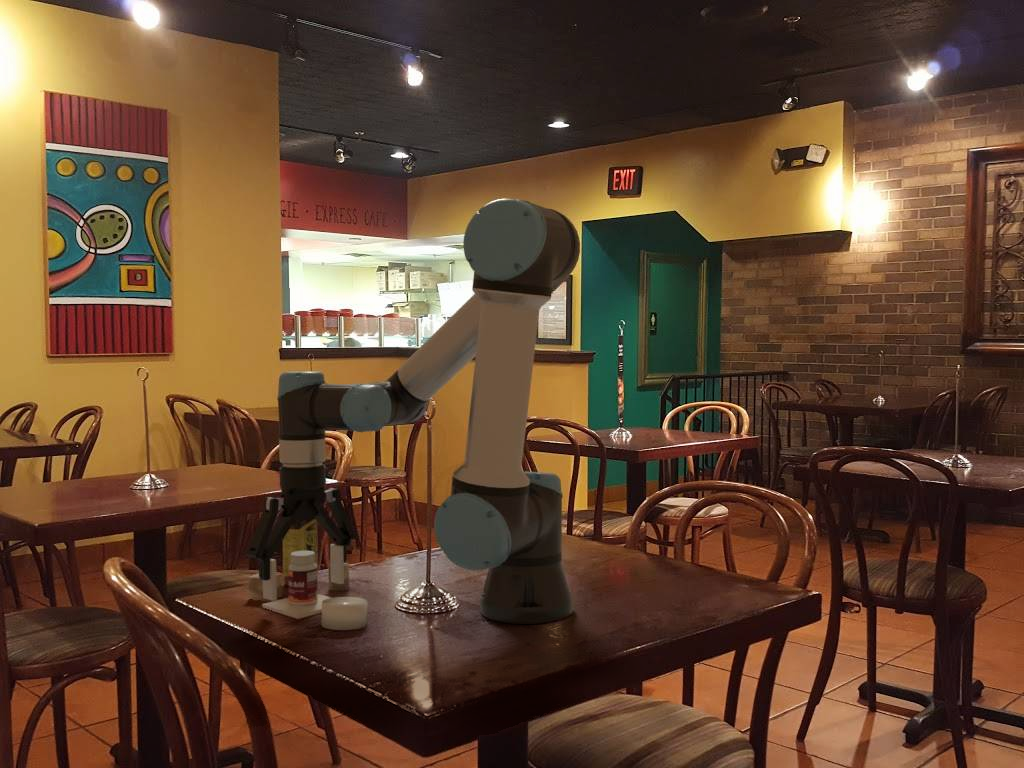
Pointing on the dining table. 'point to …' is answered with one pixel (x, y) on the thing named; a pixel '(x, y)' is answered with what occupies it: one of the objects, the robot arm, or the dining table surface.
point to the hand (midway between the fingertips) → (304, 590)
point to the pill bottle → (302, 578)
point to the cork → (340, 587)
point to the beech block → (257, 587)
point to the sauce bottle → (299, 542)
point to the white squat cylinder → (344, 613)
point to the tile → (296, 607)
